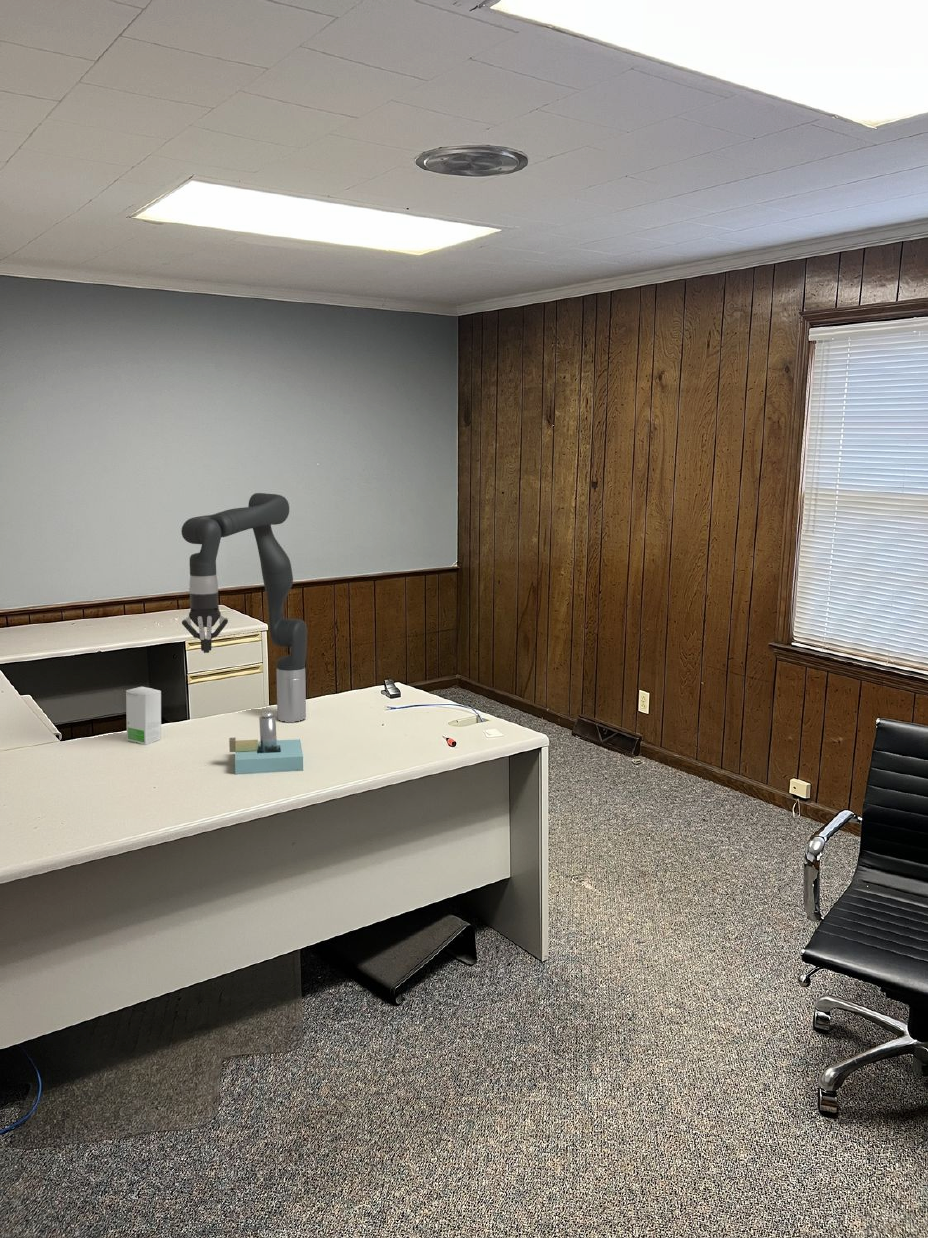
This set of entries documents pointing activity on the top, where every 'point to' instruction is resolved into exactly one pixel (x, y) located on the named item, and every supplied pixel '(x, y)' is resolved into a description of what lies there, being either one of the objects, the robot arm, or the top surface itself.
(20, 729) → the top surface
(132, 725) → the skincare box
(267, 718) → the metal capped cylinder
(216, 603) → the robot arm
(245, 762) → the dock
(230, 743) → the block hammer
